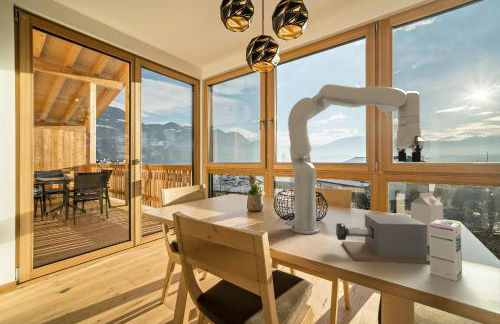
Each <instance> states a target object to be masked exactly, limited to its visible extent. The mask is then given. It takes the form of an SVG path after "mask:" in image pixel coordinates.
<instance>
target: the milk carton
mask: <svg viewBox="0 0 500 324" xmlns="http://www.w3.org/2000/svg"><path fill="white" fill-rule="evenodd" d="M410 217H411V218H414V219H416V220H418V221H420V222H422V223H425V224H427V247H430V246H429V223H431V222H433V221H435V220H444V204H443V203H442V202H441V201H440V200H439V199H438V198H437V197H435V196H434V192H424V193H420V194H419V197H418V198H416V199H414V200H413V201H411V202H410Z"/></svg>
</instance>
